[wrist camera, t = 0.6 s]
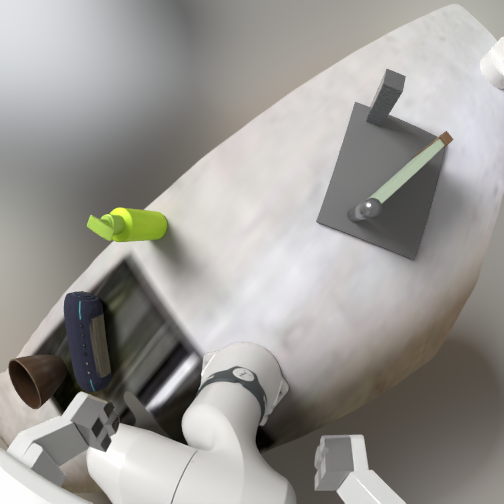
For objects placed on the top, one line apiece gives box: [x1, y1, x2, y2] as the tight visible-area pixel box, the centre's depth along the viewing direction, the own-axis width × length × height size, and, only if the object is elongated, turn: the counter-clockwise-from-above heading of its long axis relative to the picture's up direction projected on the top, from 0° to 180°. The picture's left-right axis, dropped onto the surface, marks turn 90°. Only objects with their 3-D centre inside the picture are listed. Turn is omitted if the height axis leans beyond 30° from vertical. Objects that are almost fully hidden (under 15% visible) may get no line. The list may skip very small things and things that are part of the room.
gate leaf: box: [368, 131, 453, 204], centre depth 42 cm, size 16×2×14 cm, turn 130°
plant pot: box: [8, 355, 67, 409], centre depth 62 cm, size 15×15×16 cm
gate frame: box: [316, 69, 445, 260], centre depth 42 cm, size 25×20×18 cm
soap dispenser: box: [87, 208, 167, 242], centre depth 50 cm, size 6×7×20 cm
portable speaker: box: [64, 291, 112, 392], centre depth 61 cm, size 25×10×10 cm, turn 0°
